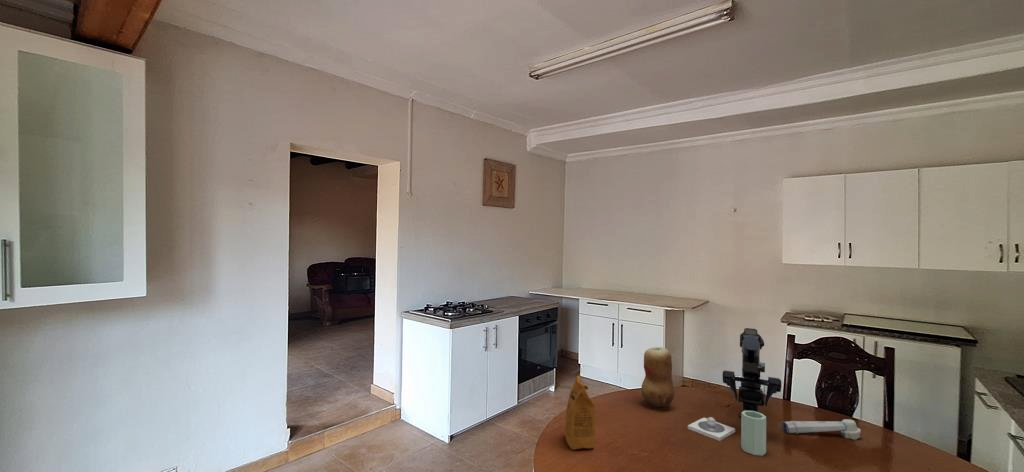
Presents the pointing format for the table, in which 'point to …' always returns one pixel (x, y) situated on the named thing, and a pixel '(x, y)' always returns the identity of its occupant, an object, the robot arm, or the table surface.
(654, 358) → the butternut squash
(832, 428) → the toothbrush head
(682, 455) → the table surface
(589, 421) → the coffee package
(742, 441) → the sleeve
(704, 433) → the post board
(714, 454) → the table surface
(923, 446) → the table surface
